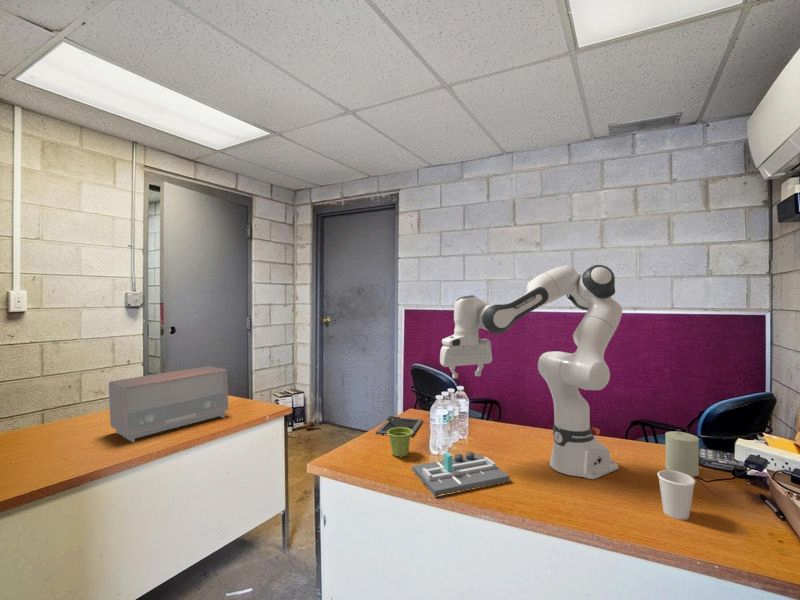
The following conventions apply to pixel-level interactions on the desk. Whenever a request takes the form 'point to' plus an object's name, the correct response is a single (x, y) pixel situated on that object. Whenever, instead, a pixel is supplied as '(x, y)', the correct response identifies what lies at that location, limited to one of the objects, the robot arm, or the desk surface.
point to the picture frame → (400, 424)
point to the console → (460, 474)
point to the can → (682, 453)
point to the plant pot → (400, 440)
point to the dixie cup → (676, 493)
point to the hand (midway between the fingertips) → (466, 376)
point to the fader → (447, 463)
